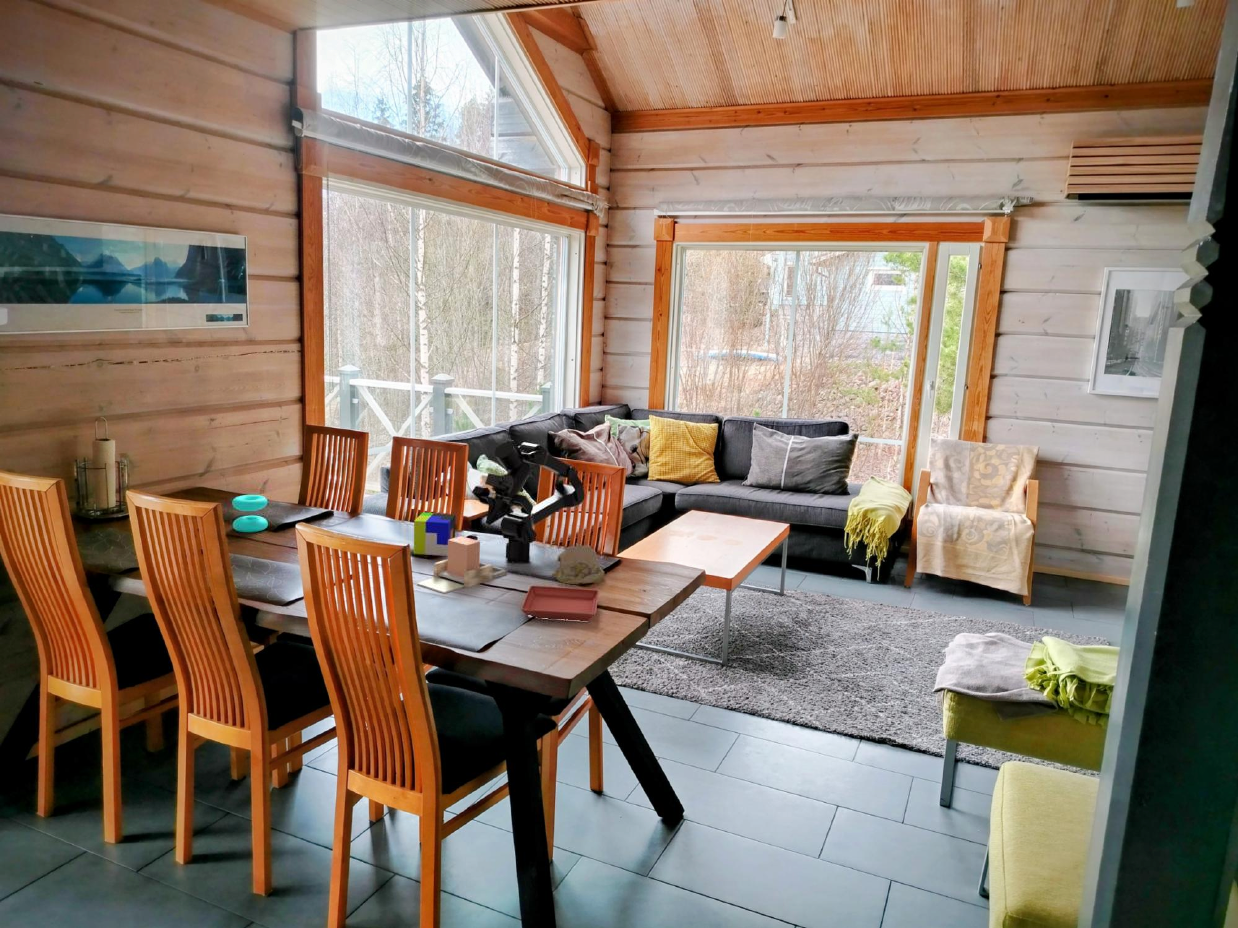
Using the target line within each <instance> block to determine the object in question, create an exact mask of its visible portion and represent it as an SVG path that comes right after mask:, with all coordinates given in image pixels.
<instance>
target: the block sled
mask: <svg viewBox="0 0 1238 928" xmlns="http://www.w3.org/2000/svg"><path fill="white" fill-rule="evenodd" d="M480 554H481V541H480V540H477V539H473V538H470V537H469V538H468V537H465V536H462V535H460V536H457V537H455V538H453V539H449V540H448V556H447V559H448V562H447V570H446V571H443V572H440V573H439V576H442V577H443V578H447V579H449V580H452V581H456V582H458V583H461V584H464V572H467V571H470V570H474V569H477V568H479V562H480V561H481V560H480V559H481V557H480Z"/></svg>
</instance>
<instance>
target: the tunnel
mask: <svg viewBox="0 0 1238 928" xmlns="http://www.w3.org/2000/svg"><path fill="white" fill-rule="evenodd" d="M447 562H448V558H447V559H443V560H440V561H436V562H433V578H435V577H438V578H441V577H442V576H439V573H440V572H443V571H446V570H447ZM493 566H494V565H493V564H491V563H490V564H488V565H486V566H483V567H480V568H477V569H474V570H470V571H467V572H464V583H463V585H464V587H463V588H466V589H468V588H471V587H473V586H476V585H479V584H482V583H484V582H488V581H491V580H493V579H492V575H493Z"/></svg>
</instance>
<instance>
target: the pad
mask: <svg viewBox="0 0 1238 928" xmlns="http://www.w3.org/2000/svg"><path fill="white" fill-rule="evenodd" d="M416 585H417V586H420V587H423V588H426V589H429V590H433V591H435V592H438V593H441V594H448V593H450V592H453V591H456V590H459V589H462V588H465V587H464V584H460V583H457V582H454V581H450V580H447V579H444V578H441V577H439V578H438V577H435V578H434V577H432V578H428V579H426V580H422V581H419V582H417V583H416Z"/></svg>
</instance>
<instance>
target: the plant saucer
mask: <svg viewBox="0 0 1238 928" xmlns="http://www.w3.org/2000/svg"><path fill="white" fill-rule="evenodd" d="M599 595H600V590H599V589H590V588H589V589H587V588H572V587H560V586H545V585H544V586H543V585H530V586H529V588H528V591H527V594H526V596H525V598H524V600H523V603H522V605H521V607H520V610H521V611H522V612H523V613H524V615H525V616H527V615H531V616H535V617H537V618H548V619H565V620H566V619H568V620H580V621H588V622H590V620H592V618H593V617H594V616H595V615H596V613H597V606H598V602H599V601H598V600H599Z"/></svg>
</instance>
